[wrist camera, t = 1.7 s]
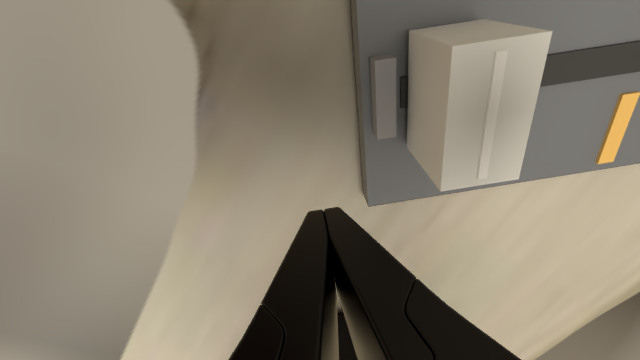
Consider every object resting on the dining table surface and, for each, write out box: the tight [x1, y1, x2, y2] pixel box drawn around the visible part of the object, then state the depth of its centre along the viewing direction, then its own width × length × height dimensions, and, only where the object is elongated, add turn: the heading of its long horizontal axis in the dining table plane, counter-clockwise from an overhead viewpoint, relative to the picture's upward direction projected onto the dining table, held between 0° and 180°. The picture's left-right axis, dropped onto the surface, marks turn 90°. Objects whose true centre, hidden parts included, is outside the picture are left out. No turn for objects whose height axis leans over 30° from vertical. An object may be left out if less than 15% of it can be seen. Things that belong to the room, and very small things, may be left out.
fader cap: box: [407, 19, 553, 192], centre depth 15 cm, size 6×4×5 cm, turn 7°
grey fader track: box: [351, 0, 640, 207], centre depth 17 cm, size 14×24×2 cm, turn 97°
